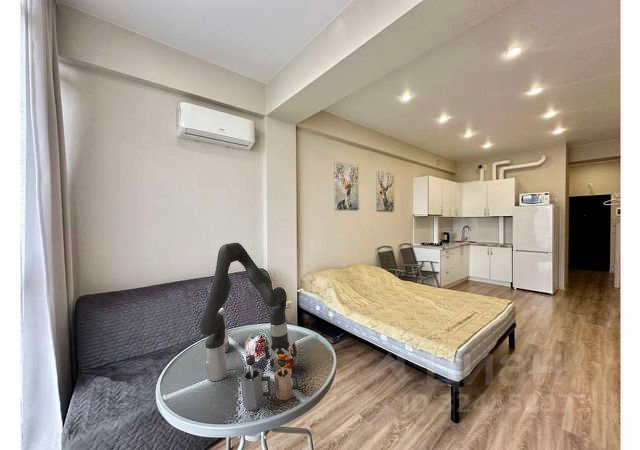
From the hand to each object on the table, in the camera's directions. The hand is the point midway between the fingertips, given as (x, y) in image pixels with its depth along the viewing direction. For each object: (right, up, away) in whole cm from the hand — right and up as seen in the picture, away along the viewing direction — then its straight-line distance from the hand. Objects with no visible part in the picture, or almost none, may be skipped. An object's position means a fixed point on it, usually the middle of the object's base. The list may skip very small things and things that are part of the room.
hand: (282, 366), depth 118 cm
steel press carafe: (-10, -14, -3) cm, 18 cm away
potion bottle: (0, -13, +19) cm, 23 cm away
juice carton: (-45, -15, +45) cm, 65 cm away
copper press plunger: (+1, -12, +1) cm, 12 cm away
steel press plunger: (-12, -12, -3) cm, 17 cm away
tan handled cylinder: (+3, -13, +1) cm, 13 cm away
